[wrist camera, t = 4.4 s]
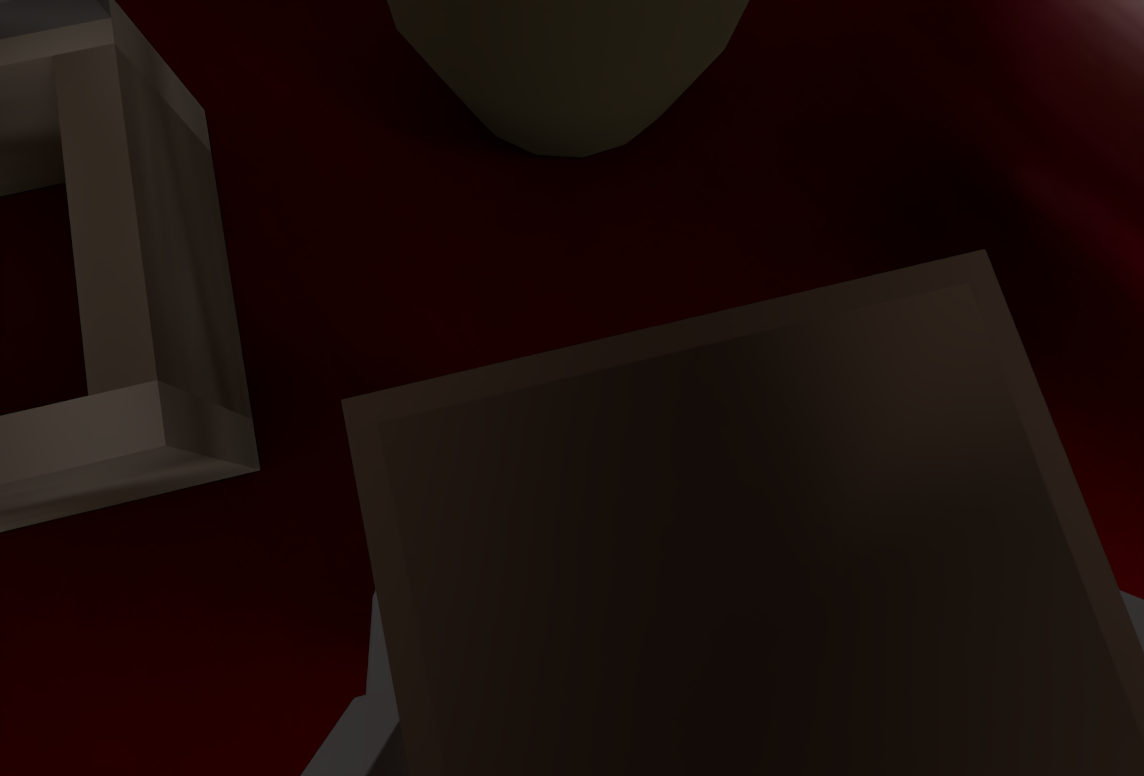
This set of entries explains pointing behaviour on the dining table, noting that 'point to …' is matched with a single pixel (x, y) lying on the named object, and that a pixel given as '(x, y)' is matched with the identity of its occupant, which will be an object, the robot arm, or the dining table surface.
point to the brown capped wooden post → (750, 551)
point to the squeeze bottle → (568, 62)
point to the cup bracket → (121, 268)
